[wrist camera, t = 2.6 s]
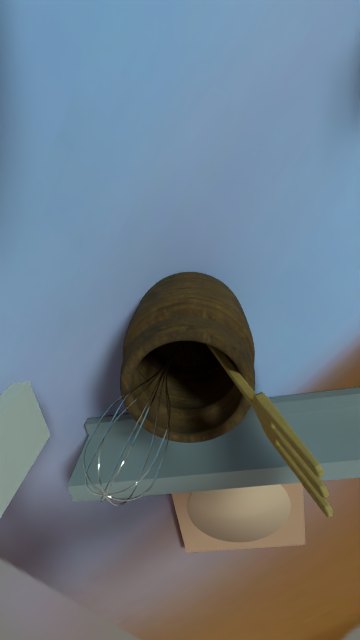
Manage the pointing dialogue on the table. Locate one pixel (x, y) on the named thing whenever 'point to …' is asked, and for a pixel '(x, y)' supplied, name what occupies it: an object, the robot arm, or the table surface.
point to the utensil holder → (198, 377)
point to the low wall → (223, 451)
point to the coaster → (241, 517)
